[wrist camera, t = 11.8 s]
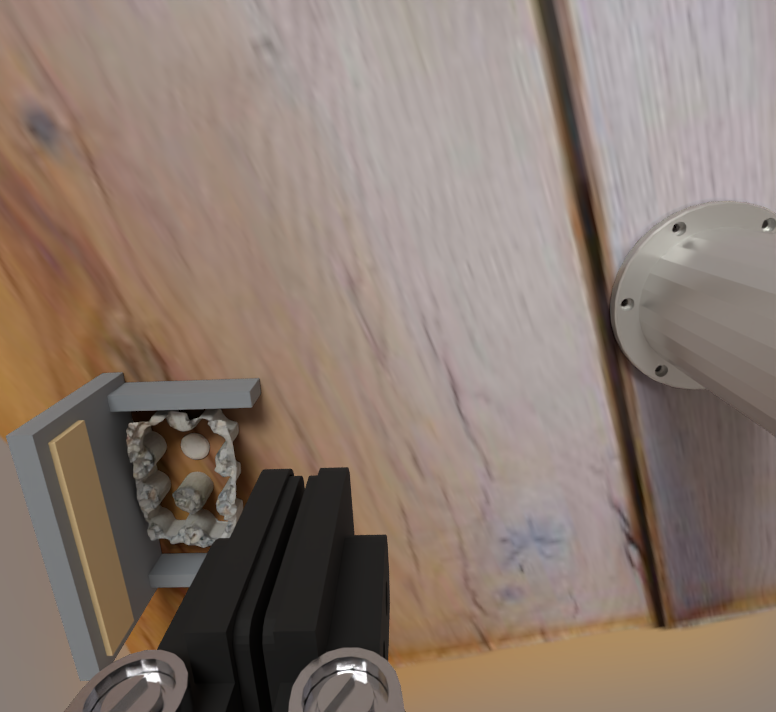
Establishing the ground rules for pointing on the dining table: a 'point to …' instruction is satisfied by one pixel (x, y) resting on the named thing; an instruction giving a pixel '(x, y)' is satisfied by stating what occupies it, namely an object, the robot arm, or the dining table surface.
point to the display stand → (104, 506)
